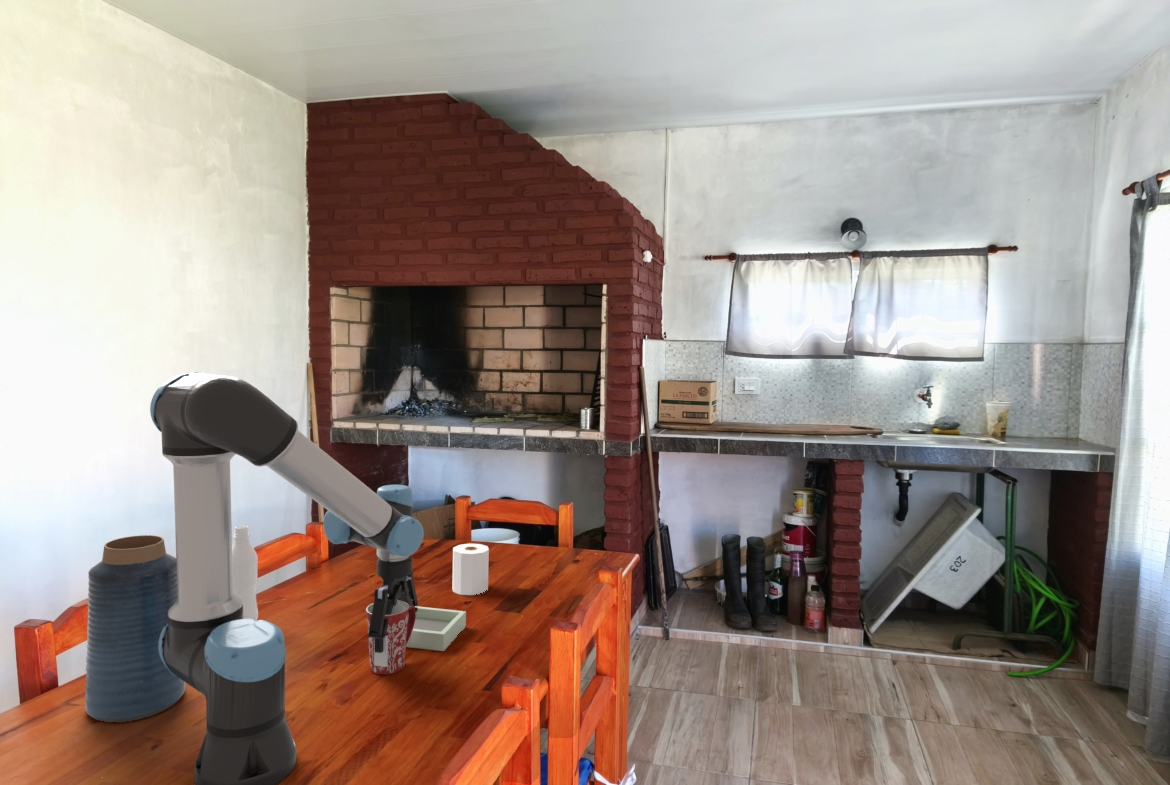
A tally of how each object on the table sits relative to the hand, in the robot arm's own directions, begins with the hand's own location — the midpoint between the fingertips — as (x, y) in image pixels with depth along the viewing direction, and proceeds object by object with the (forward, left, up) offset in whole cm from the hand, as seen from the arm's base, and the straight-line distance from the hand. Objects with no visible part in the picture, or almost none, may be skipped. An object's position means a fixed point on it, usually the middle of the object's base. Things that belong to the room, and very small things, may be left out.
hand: (394, 652), depth 156 cm
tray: (+16, +1, -3) cm, 16 cm away
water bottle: (+9, +44, -3) cm, 45 cm away
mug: (0, 0, -3) cm, 3 cm away
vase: (-27, +40, -3) cm, 49 cm away
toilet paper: (+49, 0, -3) cm, 49 cm away
